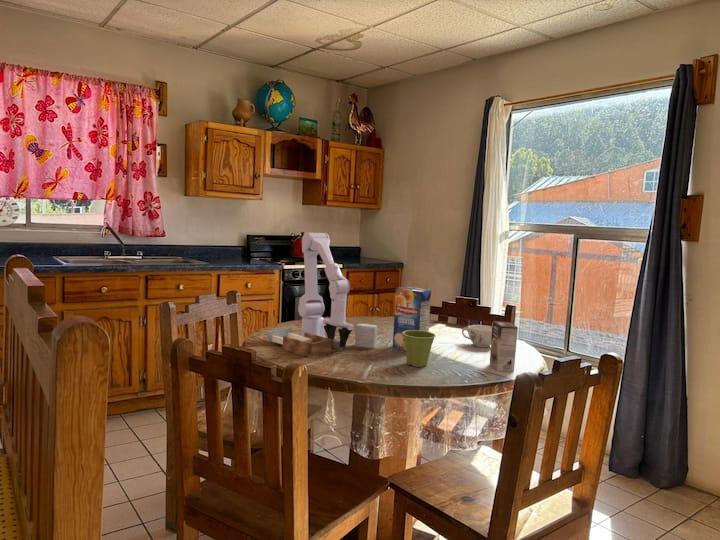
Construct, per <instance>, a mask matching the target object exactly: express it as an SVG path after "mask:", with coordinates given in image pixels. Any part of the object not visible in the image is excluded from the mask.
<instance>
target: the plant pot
mask: <svg viewBox="0 0 720 540" xmlns="http://www.w3.org/2000/svg"><path fill="white" fill-rule="evenodd" d="M403 335H404V340H405V347H406V350H405V355H406V364H407V365H409V366H410V365H411V366H412V367H419V368H422V367H425V366H426V367H427V366H428V361H429V358H430V353H431V350H432V346H433V343H434V339H435V338H436V336H437V335H436V334H435V333H433V332H431V331H429V332H427V331H419V330H408V331H404V332H403Z"/></svg>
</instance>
